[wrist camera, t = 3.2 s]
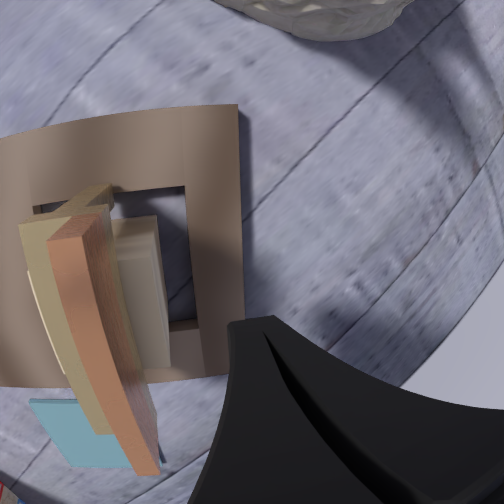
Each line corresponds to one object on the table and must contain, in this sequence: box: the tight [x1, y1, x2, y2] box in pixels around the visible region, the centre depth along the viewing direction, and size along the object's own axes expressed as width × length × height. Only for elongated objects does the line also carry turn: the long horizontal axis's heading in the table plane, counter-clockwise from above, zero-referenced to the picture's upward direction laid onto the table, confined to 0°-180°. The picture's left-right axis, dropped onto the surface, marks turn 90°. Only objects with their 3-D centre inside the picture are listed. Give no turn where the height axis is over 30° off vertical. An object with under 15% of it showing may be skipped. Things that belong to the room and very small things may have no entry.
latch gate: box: [18, 183, 161, 476], centre depth 10 cm, size 2×8×8 cm, turn 1°
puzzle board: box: [0, 104, 245, 388], centre depth 14 cm, size 19×14×1 cm
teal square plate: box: [29, 399, 163, 468], centre depth 18 cm, size 8×8×1 cm
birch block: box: [27, 215, 171, 374], centre depth 12 cm, size 4×4×6 cm
